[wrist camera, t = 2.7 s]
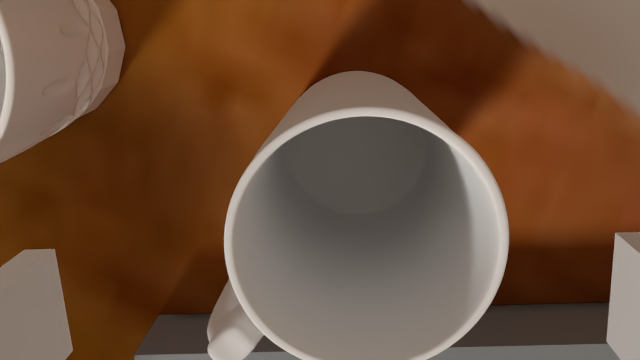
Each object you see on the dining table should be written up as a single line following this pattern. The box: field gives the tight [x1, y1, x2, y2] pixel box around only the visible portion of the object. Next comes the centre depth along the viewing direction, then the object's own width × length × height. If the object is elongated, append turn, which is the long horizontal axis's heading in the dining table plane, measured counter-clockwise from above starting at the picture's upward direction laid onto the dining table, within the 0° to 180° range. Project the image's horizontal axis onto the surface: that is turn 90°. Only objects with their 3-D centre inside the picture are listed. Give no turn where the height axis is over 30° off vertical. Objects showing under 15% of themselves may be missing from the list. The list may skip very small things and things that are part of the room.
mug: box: [207, 71, 509, 360], centre depth 20 cm, size 10×7×12 cm, turn 134°
